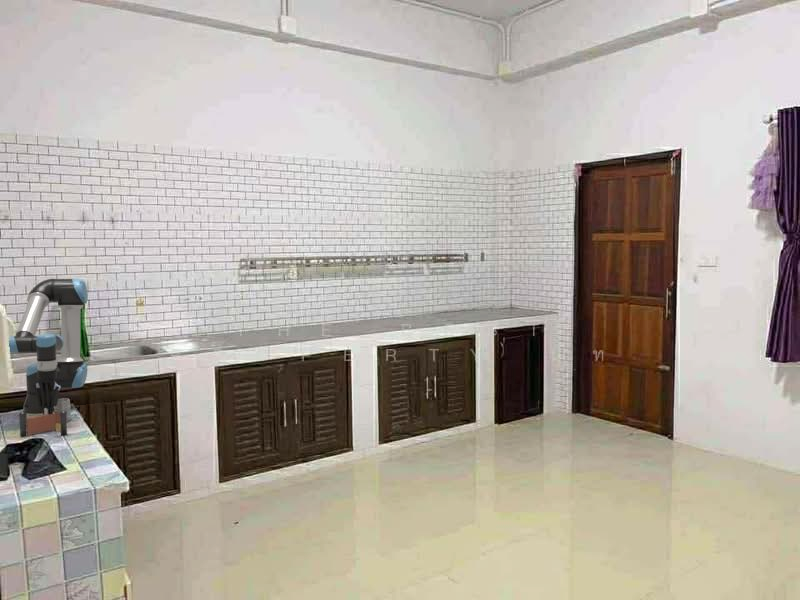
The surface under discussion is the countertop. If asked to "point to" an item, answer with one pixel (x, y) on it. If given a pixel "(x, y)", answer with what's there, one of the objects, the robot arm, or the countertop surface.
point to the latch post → (62, 423)
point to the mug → (64, 407)
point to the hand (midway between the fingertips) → (48, 421)
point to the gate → (42, 423)
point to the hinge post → (22, 424)
